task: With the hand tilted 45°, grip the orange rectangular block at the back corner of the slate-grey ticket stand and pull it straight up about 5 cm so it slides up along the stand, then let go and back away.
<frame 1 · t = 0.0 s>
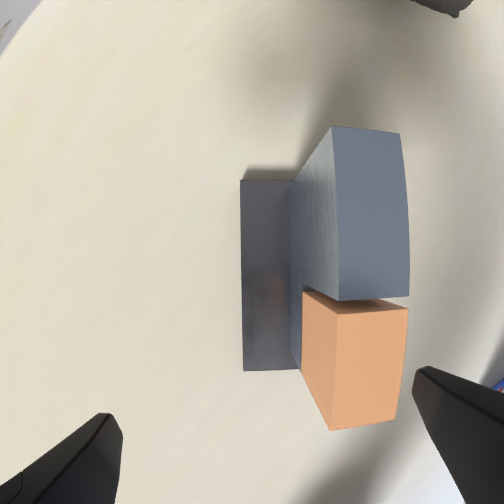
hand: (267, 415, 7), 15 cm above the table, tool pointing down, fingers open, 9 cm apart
ticket stand: (307, 314, 23), on the table
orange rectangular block: (343, 348, 14), point 9 cm above the table, slide at 0.0 cm
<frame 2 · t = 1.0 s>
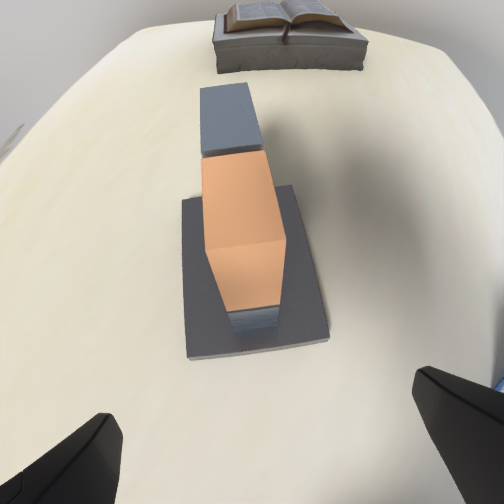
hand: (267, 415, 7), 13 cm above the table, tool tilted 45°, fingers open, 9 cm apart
ticket stand: (251, 301, 23), on the table
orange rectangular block: (244, 239, 16), point 9 cm above the table, slide at 0.0 cm
bible: (284, 51, 47), on the table
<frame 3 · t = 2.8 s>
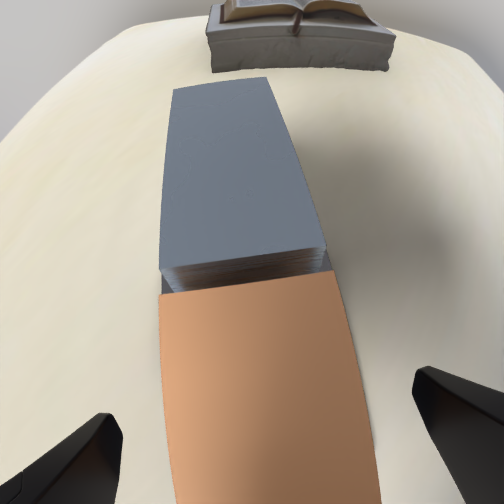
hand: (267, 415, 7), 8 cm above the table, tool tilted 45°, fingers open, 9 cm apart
ticket stand: (267, 422, 14), on the table
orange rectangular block: (268, 428, 7), point 9 cm above the table, slide at 0.0 cm
bible: (292, 47, 39), on the table
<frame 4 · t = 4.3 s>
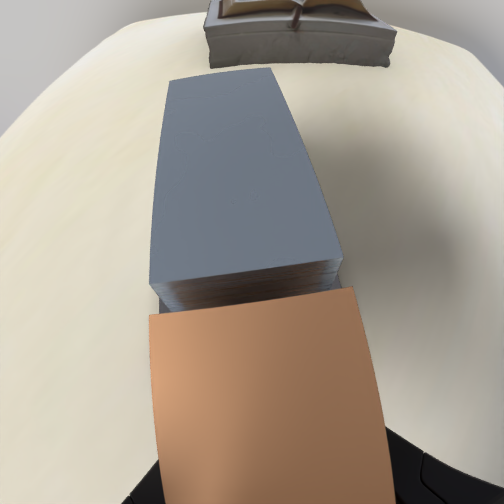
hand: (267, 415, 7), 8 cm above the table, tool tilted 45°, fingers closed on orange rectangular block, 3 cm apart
ticket stand: (269, 431, 14), on the table
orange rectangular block: (272, 450, 6), point 9 cm above the table, slide at 0.0 cm, touching gripper
bible: (292, 43, 38), on the table
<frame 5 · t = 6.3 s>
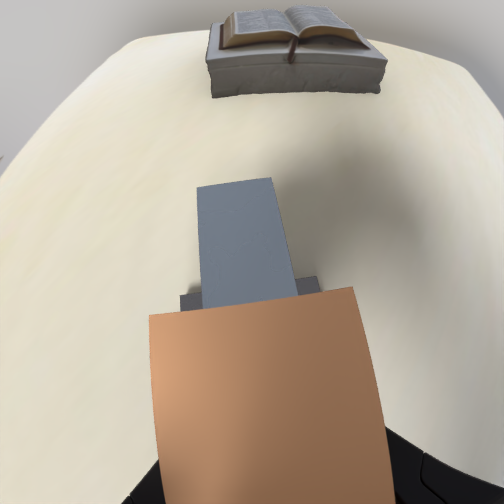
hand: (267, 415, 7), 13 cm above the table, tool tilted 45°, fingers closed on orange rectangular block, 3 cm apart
ticket stand: (268, 426, 18), on the table
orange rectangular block: (272, 449, 6), point 14 cm above the table, slide at 4.9 cm, touching gripper
bible: (288, 68, 42), on the table
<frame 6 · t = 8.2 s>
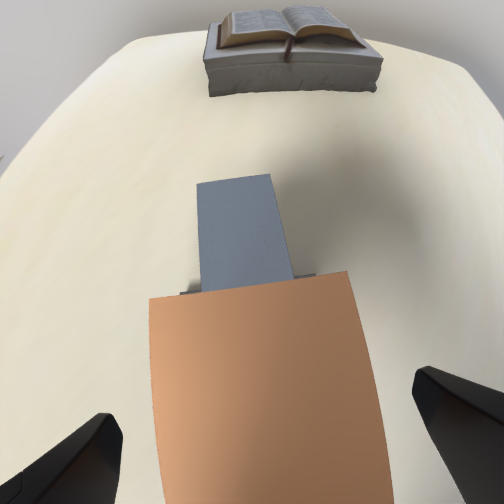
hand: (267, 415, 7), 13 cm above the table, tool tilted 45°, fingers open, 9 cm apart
ticket stand: (268, 423, 18), on the table
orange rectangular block: (270, 439, 6), point 14 cm above the table, slide at 4.9 cm
bible: (286, 67, 43), on the table
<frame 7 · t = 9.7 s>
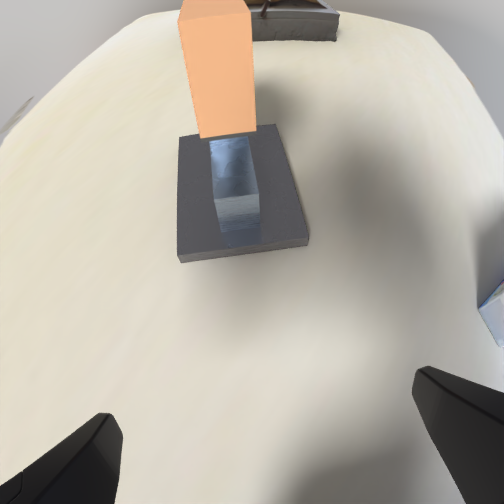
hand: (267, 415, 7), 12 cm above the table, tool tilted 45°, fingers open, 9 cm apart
ticket stand: (238, 212, 26), on the table
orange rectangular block: (219, 62, 14), point 14 cm above the table, slide at 4.9 cm
bible: (266, 28, 50), on the table
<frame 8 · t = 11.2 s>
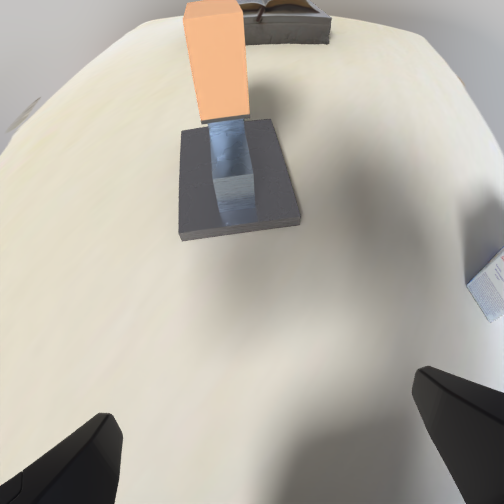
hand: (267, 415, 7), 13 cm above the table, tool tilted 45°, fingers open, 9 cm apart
ticket stand: (235, 196, 28), on the table
medicine box: (495, 285, 22), on the table
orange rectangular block: (217, 56, 16), point 14 cm above the table, slide at 4.9 cm
bible: (263, 33, 53), on the table
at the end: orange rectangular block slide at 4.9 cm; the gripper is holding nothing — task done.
